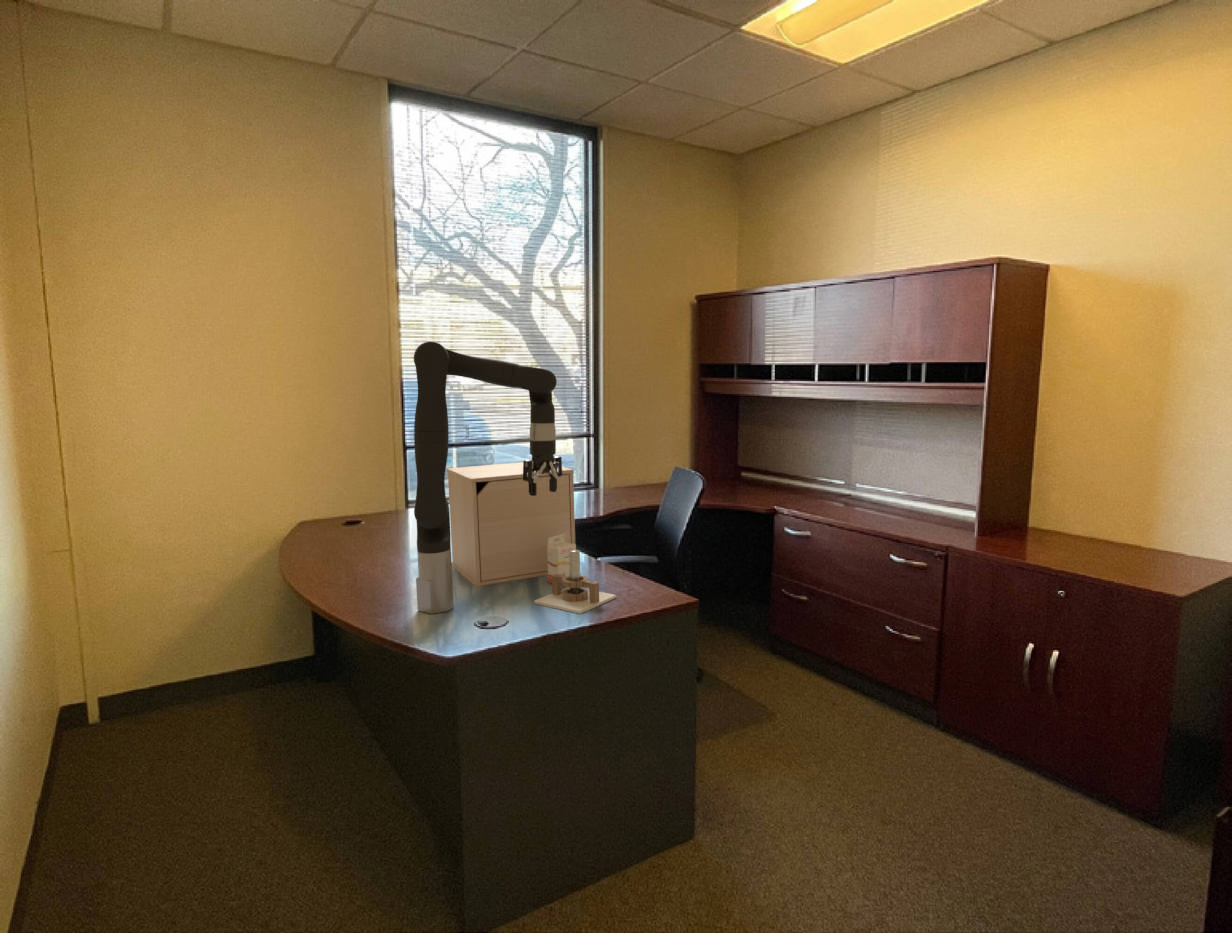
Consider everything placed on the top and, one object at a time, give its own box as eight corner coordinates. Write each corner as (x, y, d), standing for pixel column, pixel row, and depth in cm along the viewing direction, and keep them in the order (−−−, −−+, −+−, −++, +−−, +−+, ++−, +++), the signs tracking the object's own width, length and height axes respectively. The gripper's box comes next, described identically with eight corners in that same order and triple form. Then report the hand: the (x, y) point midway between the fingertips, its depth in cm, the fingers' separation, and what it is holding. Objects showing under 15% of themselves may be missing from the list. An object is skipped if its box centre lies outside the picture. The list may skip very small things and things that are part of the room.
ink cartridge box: (559, 585, 226) (557, 539, 224) (547, 583, 229) (546, 537, 227) (577, 579, 232) (576, 534, 230) (566, 576, 236) (564, 532, 234)
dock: (579, 613, 199) (579, 591, 198) (534, 603, 209) (533, 581, 208) (616, 597, 213) (615, 576, 212) (571, 588, 223) (571, 567, 222)
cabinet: (475, 586, 227) (470, 478, 222) (451, 565, 253) (446, 468, 248) (576, 570, 243) (573, 469, 238) (544, 552, 269) (541, 460, 264)
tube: (576, 600, 209) (575, 553, 207) (568, 598, 210) (567, 551, 209) (582, 597, 211) (581, 550, 209) (574, 595, 213) (573, 549, 211)
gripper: (549, 436, 217) (550, 489, 219) (516, 439, 206) (516, 495, 208) (568, 437, 213) (568, 491, 215) (535, 440, 201) (535, 498, 203)
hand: (543, 493), depth 211 cm, fingers open, 8 cm apart
